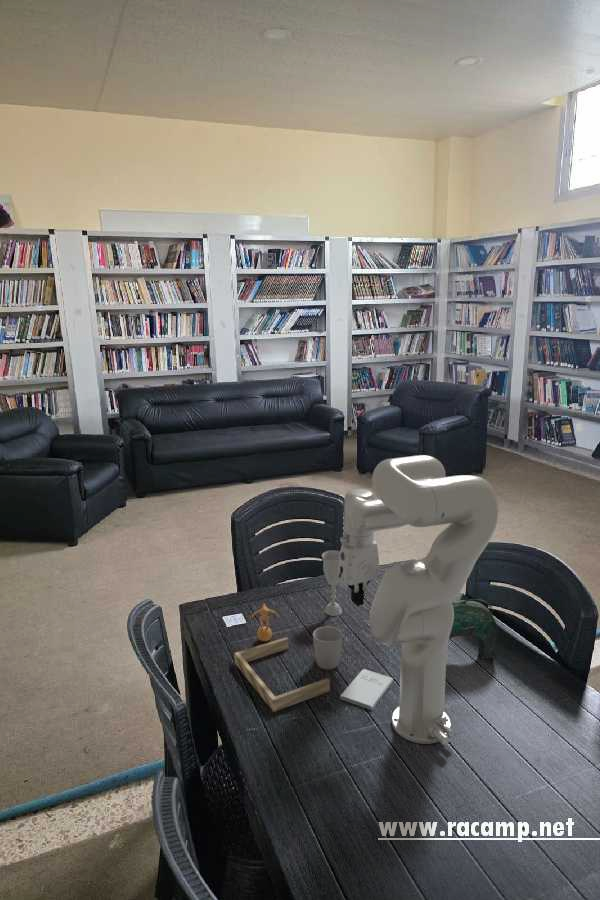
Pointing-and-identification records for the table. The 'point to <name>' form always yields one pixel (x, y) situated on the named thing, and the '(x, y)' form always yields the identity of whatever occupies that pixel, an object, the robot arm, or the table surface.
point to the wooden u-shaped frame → (262, 689)
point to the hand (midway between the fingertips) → (357, 603)
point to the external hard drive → (367, 689)
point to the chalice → (332, 579)
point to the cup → (327, 646)
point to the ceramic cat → (475, 624)
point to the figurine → (264, 631)
